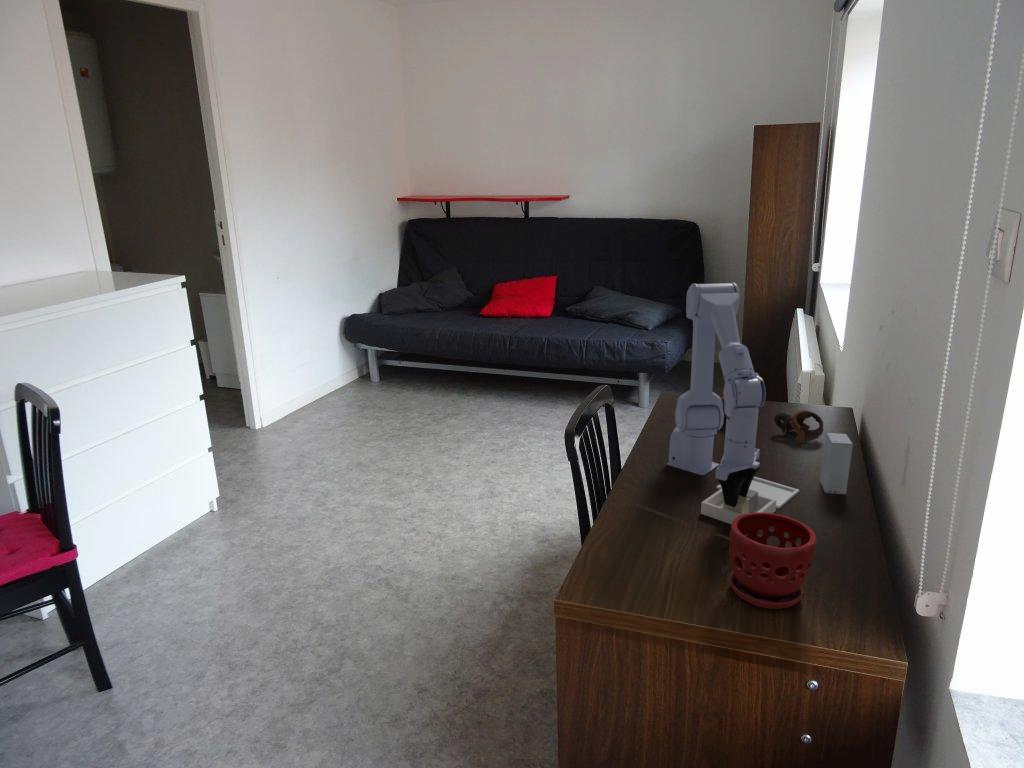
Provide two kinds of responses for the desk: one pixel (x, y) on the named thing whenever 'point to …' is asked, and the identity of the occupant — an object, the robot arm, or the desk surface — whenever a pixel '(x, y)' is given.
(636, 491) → the desk surface
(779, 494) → the parts tray
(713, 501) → the dish
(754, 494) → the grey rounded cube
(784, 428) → the brown knot sculpture
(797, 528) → the plant pot
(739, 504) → the taupe rectangular block
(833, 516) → the desk surface
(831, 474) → the skincare box
